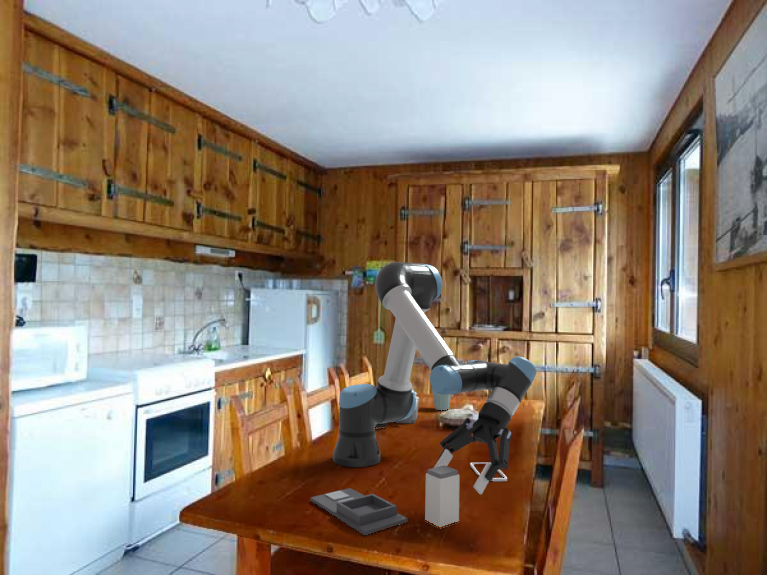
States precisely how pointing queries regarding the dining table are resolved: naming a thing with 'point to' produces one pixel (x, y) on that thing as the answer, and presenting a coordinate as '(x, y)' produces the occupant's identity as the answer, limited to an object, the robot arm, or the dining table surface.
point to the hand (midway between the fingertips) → (455, 482)
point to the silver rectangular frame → (493, 478)
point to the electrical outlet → (414, 414)
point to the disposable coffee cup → (441, 401)
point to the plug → (442, 496)
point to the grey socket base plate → (360, 510)
